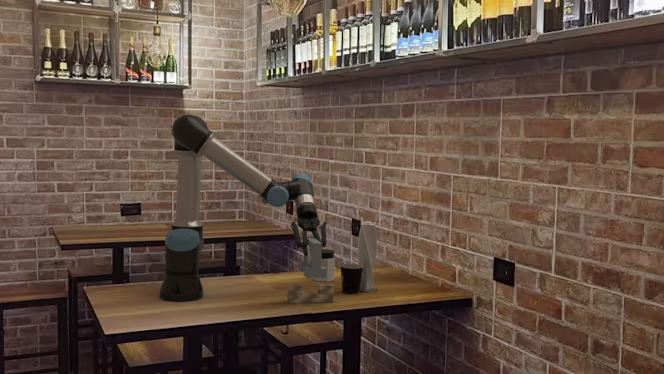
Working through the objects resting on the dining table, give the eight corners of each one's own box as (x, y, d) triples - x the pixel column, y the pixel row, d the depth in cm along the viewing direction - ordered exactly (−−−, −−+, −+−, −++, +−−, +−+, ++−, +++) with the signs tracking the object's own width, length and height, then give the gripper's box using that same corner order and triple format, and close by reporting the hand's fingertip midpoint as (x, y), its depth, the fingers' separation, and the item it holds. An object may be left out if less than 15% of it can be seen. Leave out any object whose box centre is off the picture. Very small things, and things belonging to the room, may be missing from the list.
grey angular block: (298, 269, 234) (299, 236, 233) (317, 269, 236) (318, 236, 235) (306, 278, 220) (307, 243, 219) (326, 277, 222) (327, 243, 221)
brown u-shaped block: (289, 303, 225) (289, 286, 225) (287, 301, 228) (288, 284, 228) (333, 302, 229) (333, 285, 229) (331, 299, 232) (331, 283, 232)
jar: (322, 276, 270) (323, 248, 269) (337, 279, 265) (338, 250, 264) (308, 279, 263) (309, 250, 262) (323, 282, 258) (324, 253, 257)
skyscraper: (350, 287, 252) (352, 216, 249) (365, 285, 257) (368, 215, 254) (364, 292, 245) (367, 219, 243) (379, 289, 250) (383, 218, 248)
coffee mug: (360, 295, 240) (361, 269, 239) (337, 293, 242) (338, 267, 241) (364, 288, 251) (365, 263, 250) (343, 286, 253) (344, 261, 252)
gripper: (325, 215, 243) (335, 268, 229) (283, 215, 239) (290, 269, 224) (329, 203, 238) (339, 256, 223) (286, 203, 234) (294, 257, 219)
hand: (314, 262), depth 224 cm, fingers closed on grey angular block, 3 cm apart
